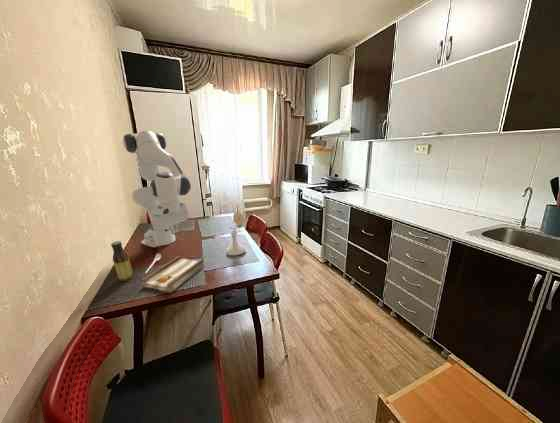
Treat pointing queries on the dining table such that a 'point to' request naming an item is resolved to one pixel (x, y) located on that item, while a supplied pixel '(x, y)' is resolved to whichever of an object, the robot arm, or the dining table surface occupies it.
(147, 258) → the dining table surface
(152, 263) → the fork
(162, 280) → the ball
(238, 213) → the flower in vase
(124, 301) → the dining table surface
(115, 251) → the sauce bottle
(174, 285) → the beige tray
